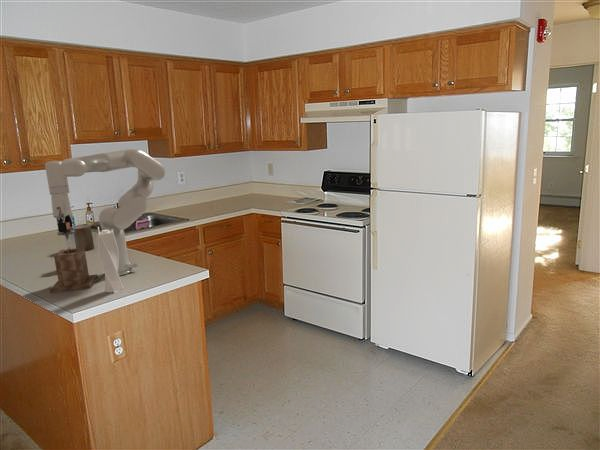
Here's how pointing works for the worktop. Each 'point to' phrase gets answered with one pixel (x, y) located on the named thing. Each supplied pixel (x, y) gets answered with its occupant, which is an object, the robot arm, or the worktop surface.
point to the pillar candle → (83, 237)
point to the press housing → (72, 271)
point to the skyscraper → (109, 260)
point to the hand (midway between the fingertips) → (65, 229)
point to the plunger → (67, 236)
